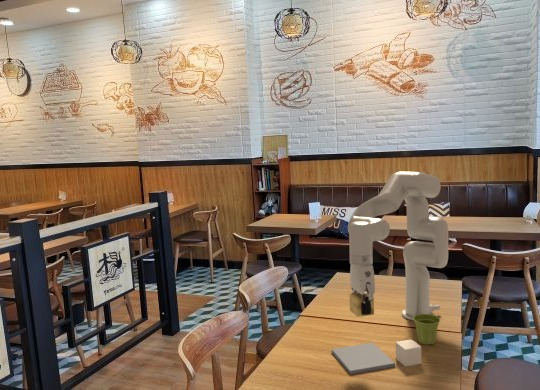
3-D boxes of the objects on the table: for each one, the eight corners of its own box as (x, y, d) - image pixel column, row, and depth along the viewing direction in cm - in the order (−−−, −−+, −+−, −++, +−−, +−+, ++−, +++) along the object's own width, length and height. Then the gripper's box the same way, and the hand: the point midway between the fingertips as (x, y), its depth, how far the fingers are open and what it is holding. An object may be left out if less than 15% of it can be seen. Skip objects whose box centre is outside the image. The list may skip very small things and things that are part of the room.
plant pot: (409, 343, 169) (409, 320, 168) (417, 333, 177) (417, 312, 176) (436, 349, 164) (436, 325, 163) (442, 339, 172) (443, 316, 171)
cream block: (411, 355, 160) (411, 339, 159) (421, 363, 154) (421, 346, 154) (395, 358, 159) (395, 341, 158) (405, 366, 153) (405, 349, 152)
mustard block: (365, 308, 160) (365, 291, 160) (373, 314, 155) (373, 297, 154) (349, 310, 159) (349, 293, 158) (357, 316, 153) (357, 299, 152)
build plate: (372, 345, 169) (372, 342, 168) (395, 366, 153) (395, 363, 153) (331, 352, 165) (331, 349, 165) (350, 374, 149) (350, 370, 149)
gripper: (383, 264, 147) (384, 318, 149) (360, 251, 164) (360, 300, 166) (362, 266, 145) (362, 321, 147) (340, 253, 162) (341, 303, 164)
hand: (361, 310), depth 157 cm, fingers closed on mustard block, 5 cm apart
